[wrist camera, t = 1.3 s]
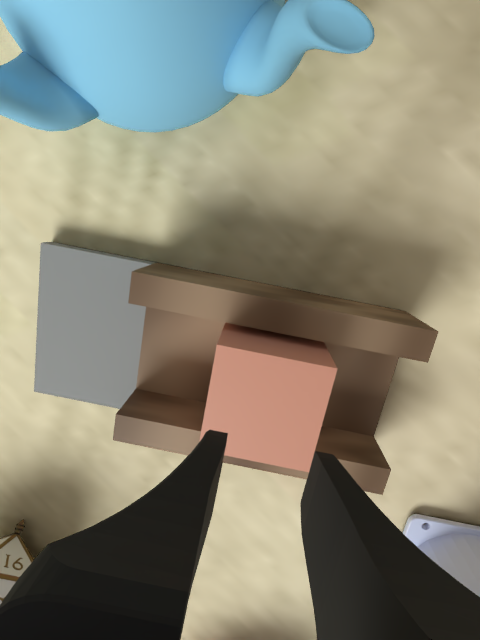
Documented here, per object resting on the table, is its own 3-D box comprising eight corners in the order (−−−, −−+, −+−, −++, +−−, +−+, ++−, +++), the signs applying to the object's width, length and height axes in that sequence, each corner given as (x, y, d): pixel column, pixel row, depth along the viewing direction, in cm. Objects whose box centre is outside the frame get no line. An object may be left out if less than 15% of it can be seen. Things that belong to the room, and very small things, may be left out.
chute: (405, 311, 20) (438, 331, 16) (361, 448, 23) (382, 494, 19) (156, 262, 20) (131, 271, 17) (138, 403, 23) (113, 440, 19)
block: (319, 333, 20) (337, 368, 15) (298, 415, 21) (308, 472, 16) (228, 315, 20) (216, 344, 15) (212, 398, 21) (197, 449, 16)
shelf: (156, 262, 20) (151, 264, 20) (138, 403, 23) (133, 411, 22) (51, 241, 21) (40, 242, 20) (43, 384, 23) (33, 391, 22)
